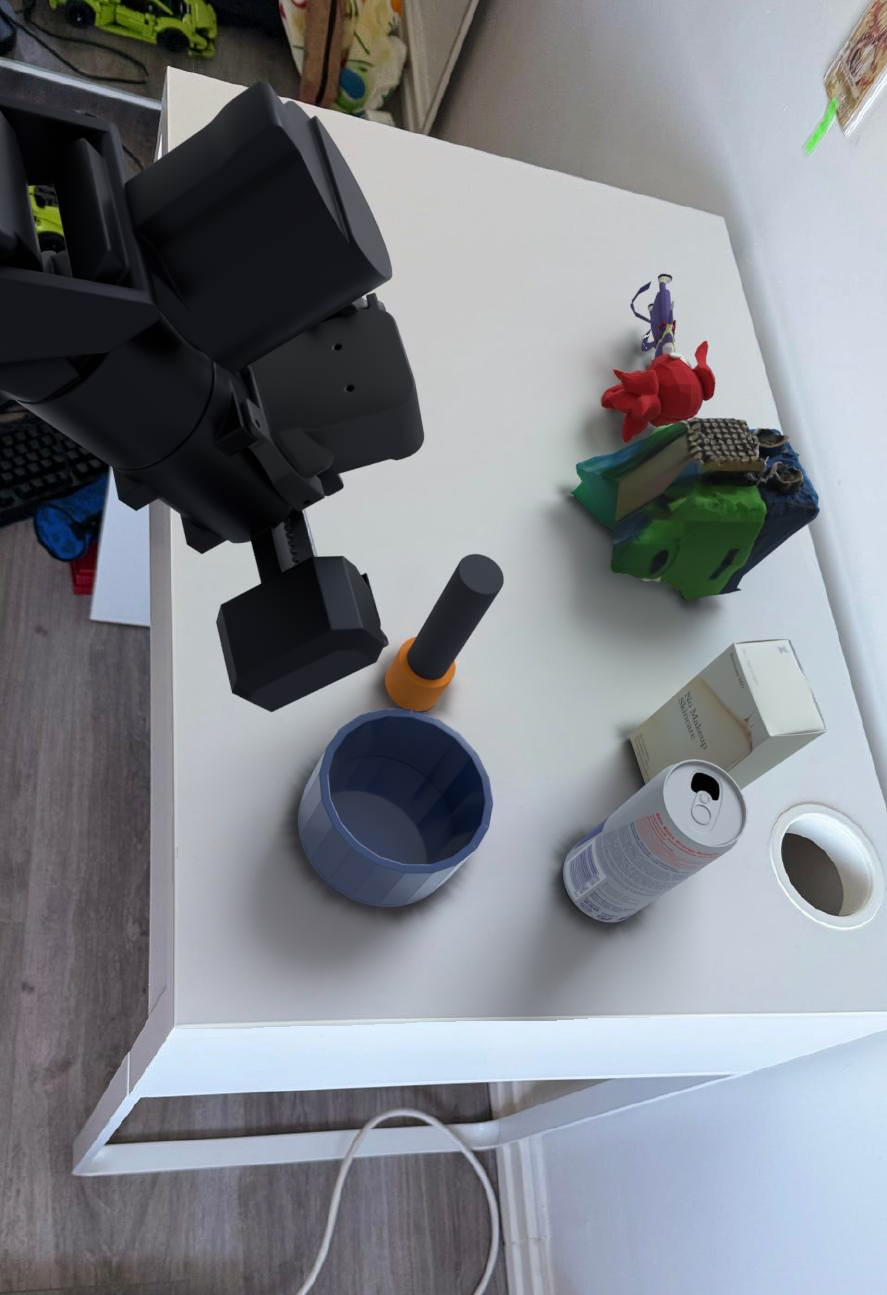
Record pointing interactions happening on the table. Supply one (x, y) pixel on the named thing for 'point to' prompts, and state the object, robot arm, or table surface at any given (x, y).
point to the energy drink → (656, 840)
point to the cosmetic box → (735, 714)
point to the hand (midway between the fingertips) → (357, 565)
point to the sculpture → (698, 502)
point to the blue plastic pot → (394, 807)
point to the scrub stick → (443, 634)
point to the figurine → (661, 375)
